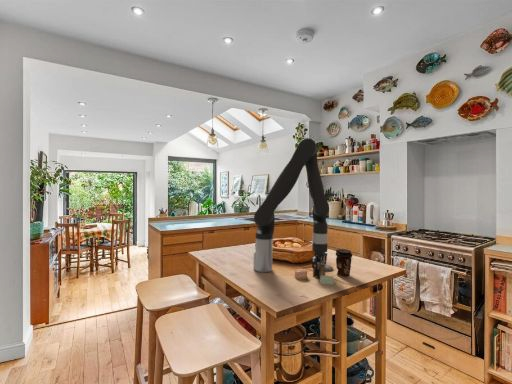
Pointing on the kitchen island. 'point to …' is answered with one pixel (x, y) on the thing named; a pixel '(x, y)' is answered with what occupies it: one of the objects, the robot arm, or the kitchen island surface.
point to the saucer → (328, 268)
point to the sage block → (327, 280)
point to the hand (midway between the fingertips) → (319, 274)
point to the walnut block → (320, 271)
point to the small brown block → (301, 274)
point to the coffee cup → (343, 262)
